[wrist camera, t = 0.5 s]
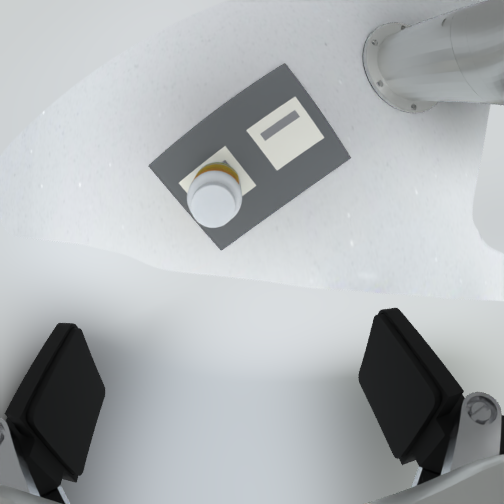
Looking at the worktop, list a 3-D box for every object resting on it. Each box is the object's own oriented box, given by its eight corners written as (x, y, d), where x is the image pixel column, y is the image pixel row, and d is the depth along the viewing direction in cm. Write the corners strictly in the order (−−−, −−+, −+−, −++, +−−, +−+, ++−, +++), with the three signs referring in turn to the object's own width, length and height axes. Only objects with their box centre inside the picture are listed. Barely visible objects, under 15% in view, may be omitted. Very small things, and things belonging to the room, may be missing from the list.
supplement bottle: (188, 169, 34) (174, 187, 25) (233, 156, 34) (234, 169, 25) (202, 211, 36) (193, 242, 28) (245, 199, 36) (250, 226, 27)
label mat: (284, 63, 30) (285, 62, 30) (350, 157, 35) (351, 158, 35) (148, 165, 34) (148, 166, 34) (221, 250, 39) (221, 251, 39)
